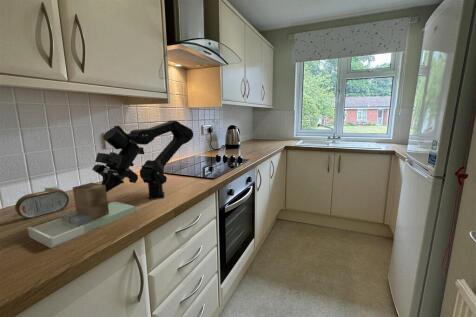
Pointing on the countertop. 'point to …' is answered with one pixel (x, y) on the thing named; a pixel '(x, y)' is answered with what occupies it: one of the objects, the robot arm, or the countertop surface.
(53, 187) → the pill bottle
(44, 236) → the cream tray
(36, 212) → the tin
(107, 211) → the walnut push block
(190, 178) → the countertop surface
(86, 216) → the slate tile
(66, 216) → the slate tile
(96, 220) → the sage board
